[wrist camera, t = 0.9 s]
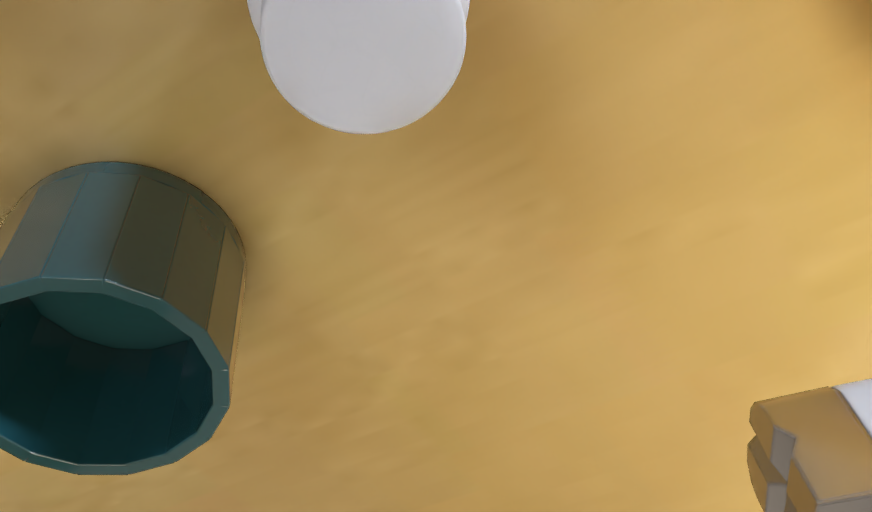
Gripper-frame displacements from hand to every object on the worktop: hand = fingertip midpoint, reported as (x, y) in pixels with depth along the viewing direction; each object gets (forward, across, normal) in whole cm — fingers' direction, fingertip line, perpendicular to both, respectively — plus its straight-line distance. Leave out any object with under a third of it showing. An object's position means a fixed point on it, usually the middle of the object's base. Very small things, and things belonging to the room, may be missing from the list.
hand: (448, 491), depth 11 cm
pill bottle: (+21, 0, -2) cm, 21 cm away
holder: (+21, +12, +9) cm, 26 cm away
